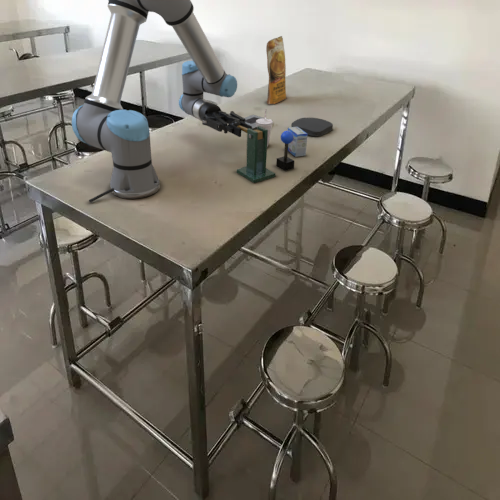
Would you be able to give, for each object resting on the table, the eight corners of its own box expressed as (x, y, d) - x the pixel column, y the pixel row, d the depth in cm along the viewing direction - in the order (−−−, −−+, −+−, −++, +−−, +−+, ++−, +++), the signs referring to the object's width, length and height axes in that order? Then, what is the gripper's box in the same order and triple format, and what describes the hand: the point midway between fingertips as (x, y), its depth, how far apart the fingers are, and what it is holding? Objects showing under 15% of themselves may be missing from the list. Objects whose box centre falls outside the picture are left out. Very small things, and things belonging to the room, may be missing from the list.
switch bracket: (236, 172, 165) (237, 127, 156) (257, 166, 170) (259, 122, 161) (254, 183, 159) (255, 136, 150) (275, 176, 163) (278, 131, 154)
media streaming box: (317, 138, 193) (318, 131, 192) (287, 130, 201) (287, 123, 199) (335, 129, 203) (336, 122, 202) (306, 121, 210) (306, 114, 209)
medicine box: (285, 149, 183) (287, 127, 178) (296, 148, 185) (297, 126, 180) (295, 157, 177) (297, 134, 172) (306, 155, 179) (308, 133, 174)
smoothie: (275, 145, 186) (277, 109, 178) (263, 150, 182) (265, 113, 174) (262, 141, 190) (264, 105, 182) (251, 145, 186) (252, 109, 178)
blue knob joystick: (284, 171, 167) (287, 134, 159) (275, 166, 170) (277, 130, 163) (294, 168, 169) (297, 131, 162) (285, 163, 172) (287, 127, 165)
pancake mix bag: (259, 103, 230) (261, 40, 214) (278, 94, 243) (282, 34, 228) (271, 106, 227) (274, 42, 211) (290, 96, 240) (294, 36, 225)
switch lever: (228, 130, 166) (228, 120, 164) (237, 128, 168) (236, 118, 166) (255, 142, 155) (255, 131, 154) (264, 140, 157) (264, 129, 155)
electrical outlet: (252, 119, 211) (253, 113, 210) (272, 124, 206) (272, 119, 204) (233, 126, 202) (233, 121, 201) (252, 133, 197) (252, 127, 196)
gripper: (226, 118, 183) (264, 137, 167) (188, 126, 174) (224, 147, 159) (226, 98, 179) (265, 116, 163) (187, 106, 170) (224, 125, 155)
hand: (245, 131), depth 161 cm, fingers closed on switch lever, 4 cm apart
